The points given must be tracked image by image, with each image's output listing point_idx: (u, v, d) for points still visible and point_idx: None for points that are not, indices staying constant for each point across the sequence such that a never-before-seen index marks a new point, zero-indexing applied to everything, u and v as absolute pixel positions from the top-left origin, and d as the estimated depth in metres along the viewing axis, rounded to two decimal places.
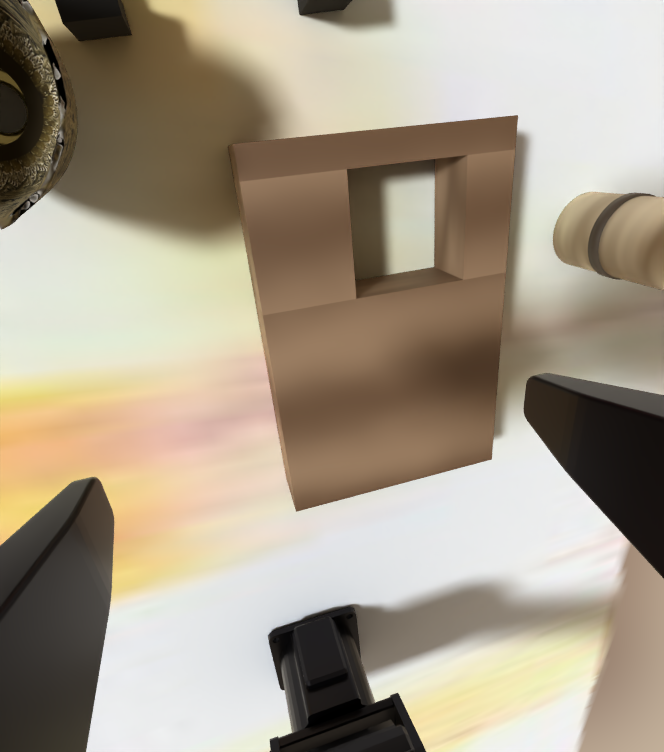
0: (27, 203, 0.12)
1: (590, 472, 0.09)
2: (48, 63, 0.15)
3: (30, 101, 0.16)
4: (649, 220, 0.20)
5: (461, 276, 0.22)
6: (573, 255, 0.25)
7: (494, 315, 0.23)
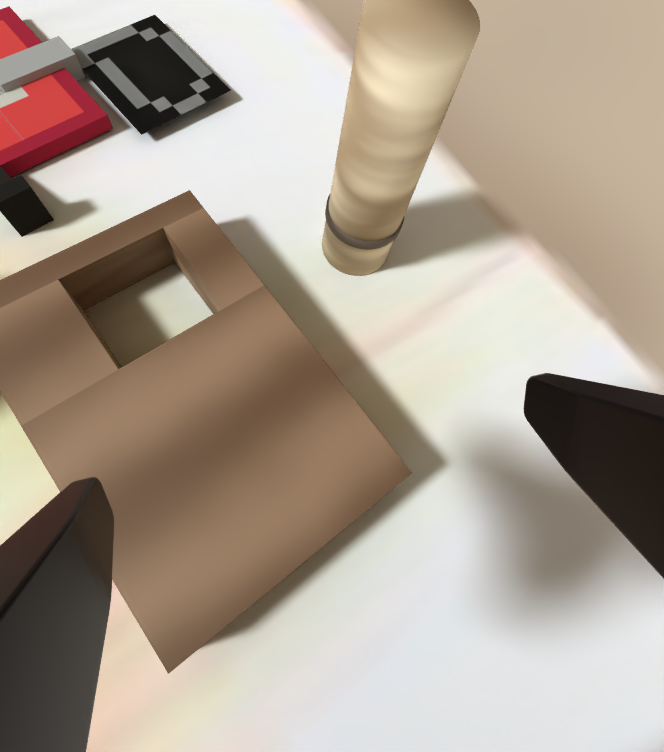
0: None
1: (590, 472, 0.09)
2: None
3: None
4: None
5: (222, 308, 0.22)
6: (345, 257, 0.25)
7: (281, 322, 0.22)
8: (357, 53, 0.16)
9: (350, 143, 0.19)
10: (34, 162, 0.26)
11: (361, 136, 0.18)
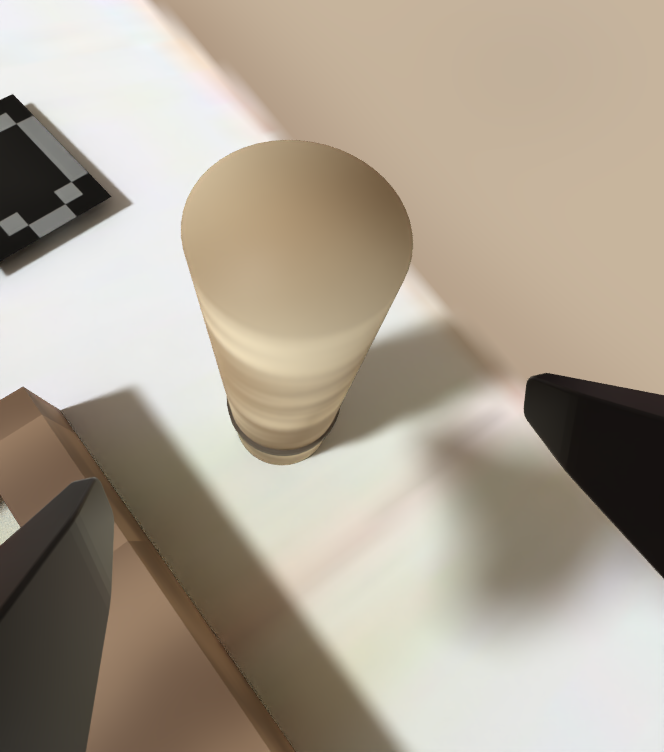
0: None
1: (590, 472, 0.09)
2: None
3: None
4: None
5: None
6: (262, 454, 0.18)
7: (151, 606, 0.14)
8: None
9: (223, 376, 0.12)
10: None
11: (233, 380, 0.11)
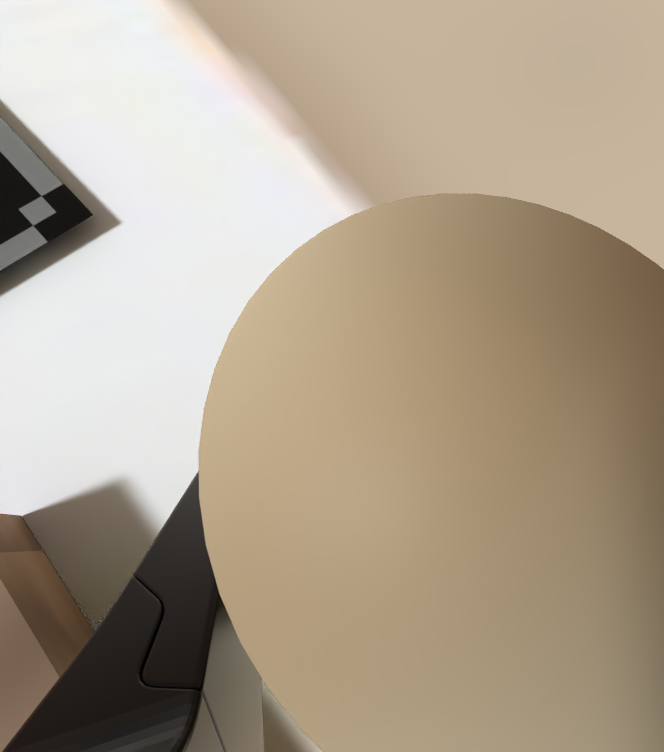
0: None
1: None
2: None
3: None
4: None
5: None
6: None
7: None
8: None
9: None
10: None
11: None
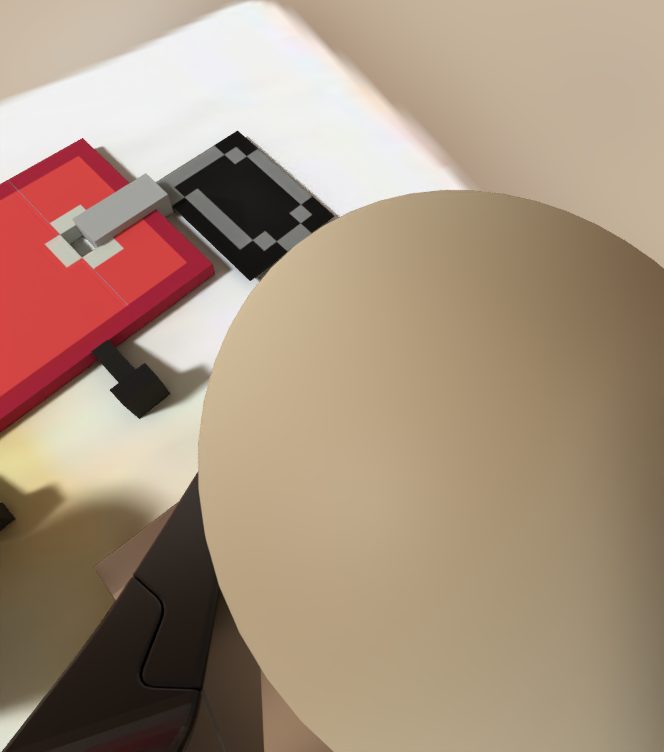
0: None
1: None
2: None
3: None
4: None
5: None
6: None
7: None
8: None
9: None
10: (139, 326, 0.24)
11: None
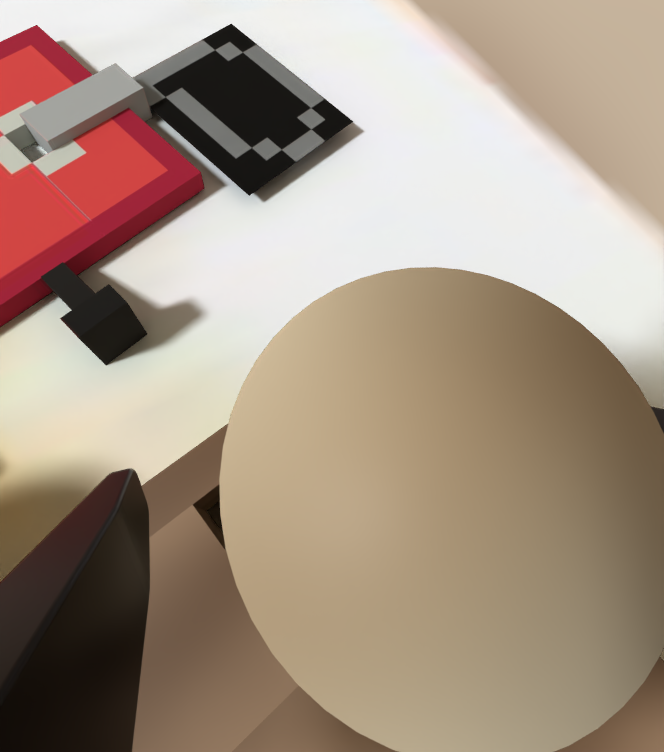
0: None
1: None
2: None
3: None
4: None
5: None
6: None
7: None
8: None
9: None
10: (107, 250, 0.18)
11: None
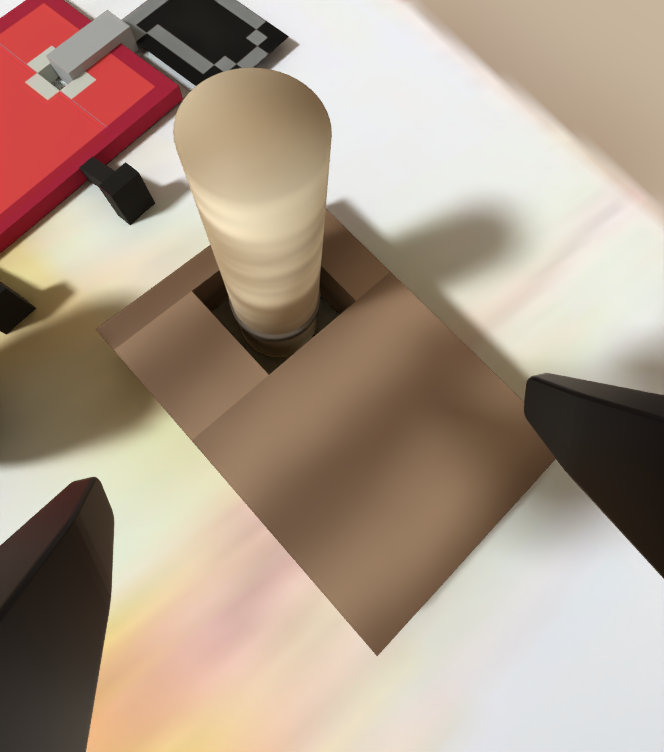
0: None
1: (590, 472, 0.09)
2: None
3: None
4: None
5: (353, 300, 0.22)
6: (261, 345, 0.22)
7: (414, 308, 0.22)
8: None
9: (219, 261, 0.16)
10: (120, 148, 0.26)
11: (225, 259, 0.15)
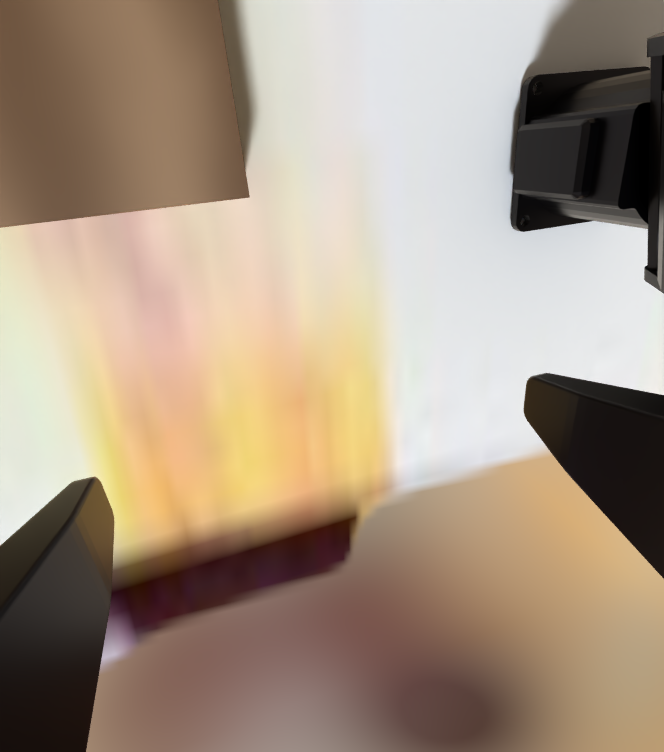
0: None
1: (590, 472, 0.09)
2: None
3: None
4: None
5: None
6: None
7: None
8: None
9: None
10: None
11: None
